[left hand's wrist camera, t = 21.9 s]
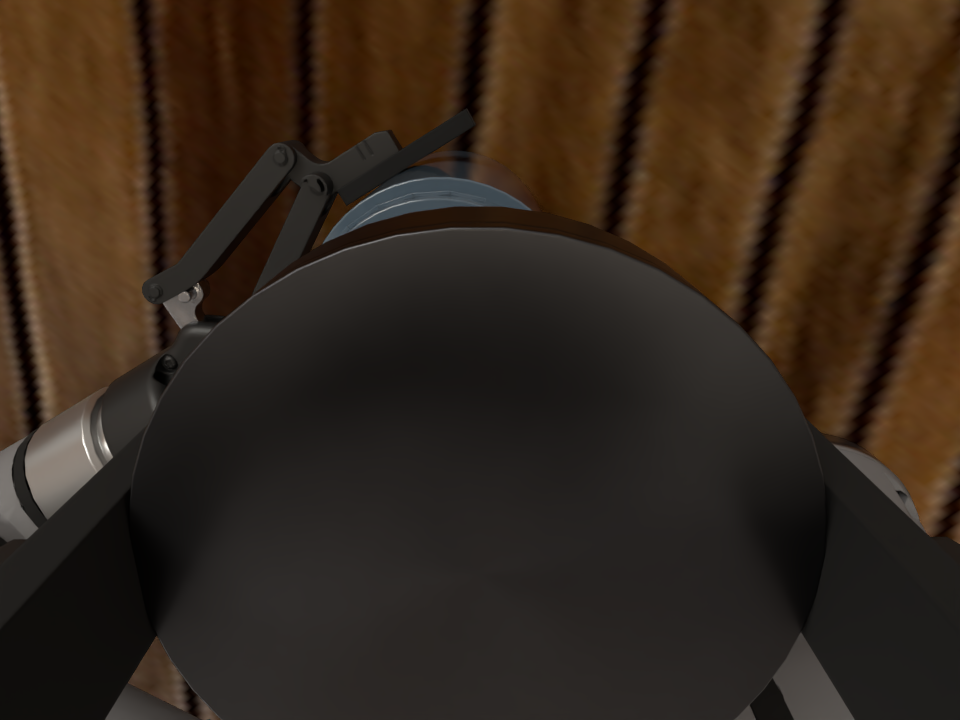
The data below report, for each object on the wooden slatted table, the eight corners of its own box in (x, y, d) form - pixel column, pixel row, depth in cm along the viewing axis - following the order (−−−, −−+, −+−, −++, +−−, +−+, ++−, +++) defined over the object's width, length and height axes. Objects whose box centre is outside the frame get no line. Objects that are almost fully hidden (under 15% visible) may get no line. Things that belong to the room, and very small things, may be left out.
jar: (329, 218, 37) (231, 294, 22) (480, 111, 35) (481, 117, 20) (433, 360, 40) (407, 507, 25) (578, 268, 38) (640, 371, 23)
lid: (895, 477, 12) (972, 547, 10) (500, 794, 15) (503, 894, 13) (443, 50, 10) (435, 34, 8) (71, 524, 12) (-1, 599, 11)
